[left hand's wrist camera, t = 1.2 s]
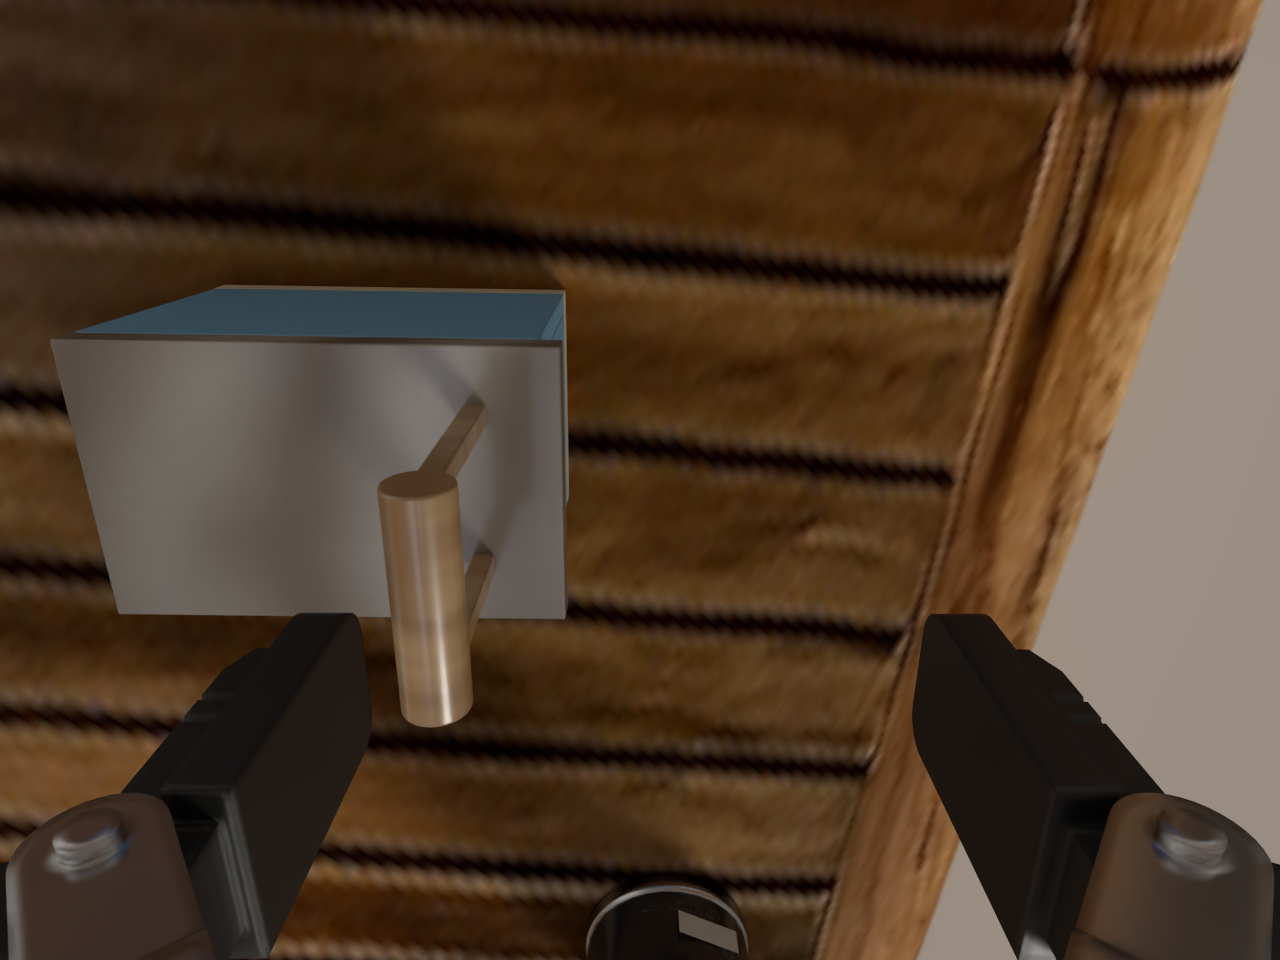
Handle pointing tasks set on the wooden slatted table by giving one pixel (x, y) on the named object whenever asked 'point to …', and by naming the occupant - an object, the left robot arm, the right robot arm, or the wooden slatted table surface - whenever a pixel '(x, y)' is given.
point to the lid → (329, 483)
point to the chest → (360, 316)
